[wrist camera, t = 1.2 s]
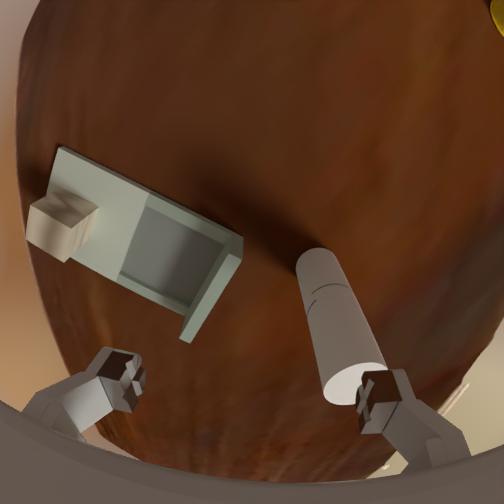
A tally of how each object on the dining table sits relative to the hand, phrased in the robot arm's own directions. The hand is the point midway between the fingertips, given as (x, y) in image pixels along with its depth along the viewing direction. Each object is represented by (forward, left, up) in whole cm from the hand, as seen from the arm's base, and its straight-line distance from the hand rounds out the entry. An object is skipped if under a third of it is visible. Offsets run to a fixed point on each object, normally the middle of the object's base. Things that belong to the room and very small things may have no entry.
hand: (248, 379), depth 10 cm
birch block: (-10, -28, -35) cm, 46 cm away
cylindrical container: (+19, +1, -37) cm, 42 cm away
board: (-2, -23, -37) cm, 43 cm away
